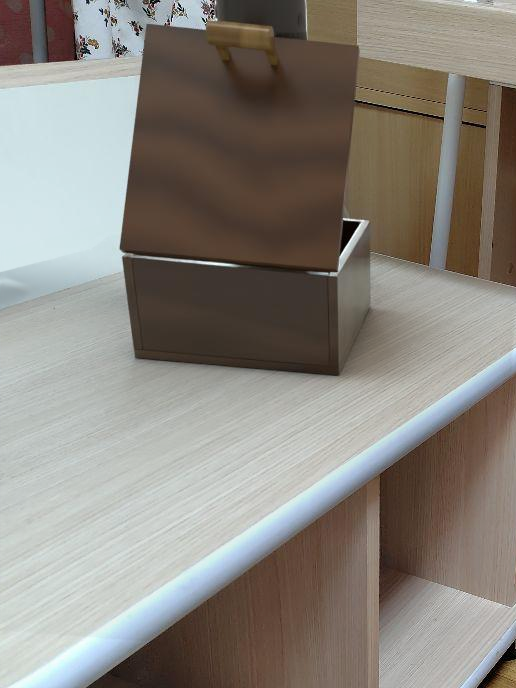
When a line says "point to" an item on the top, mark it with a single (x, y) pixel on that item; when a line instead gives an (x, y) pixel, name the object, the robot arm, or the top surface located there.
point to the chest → (250, 309)
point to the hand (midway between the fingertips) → (273, 221)
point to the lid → (240, 147)
